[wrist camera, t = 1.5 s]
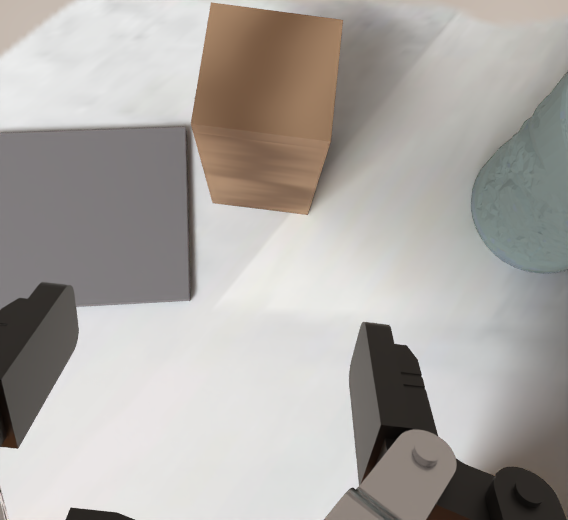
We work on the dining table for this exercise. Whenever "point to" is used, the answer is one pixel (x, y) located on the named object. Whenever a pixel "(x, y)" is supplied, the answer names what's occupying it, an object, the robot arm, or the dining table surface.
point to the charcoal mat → (95, 214)
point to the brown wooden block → (265, 105)
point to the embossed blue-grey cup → (528, 191)
